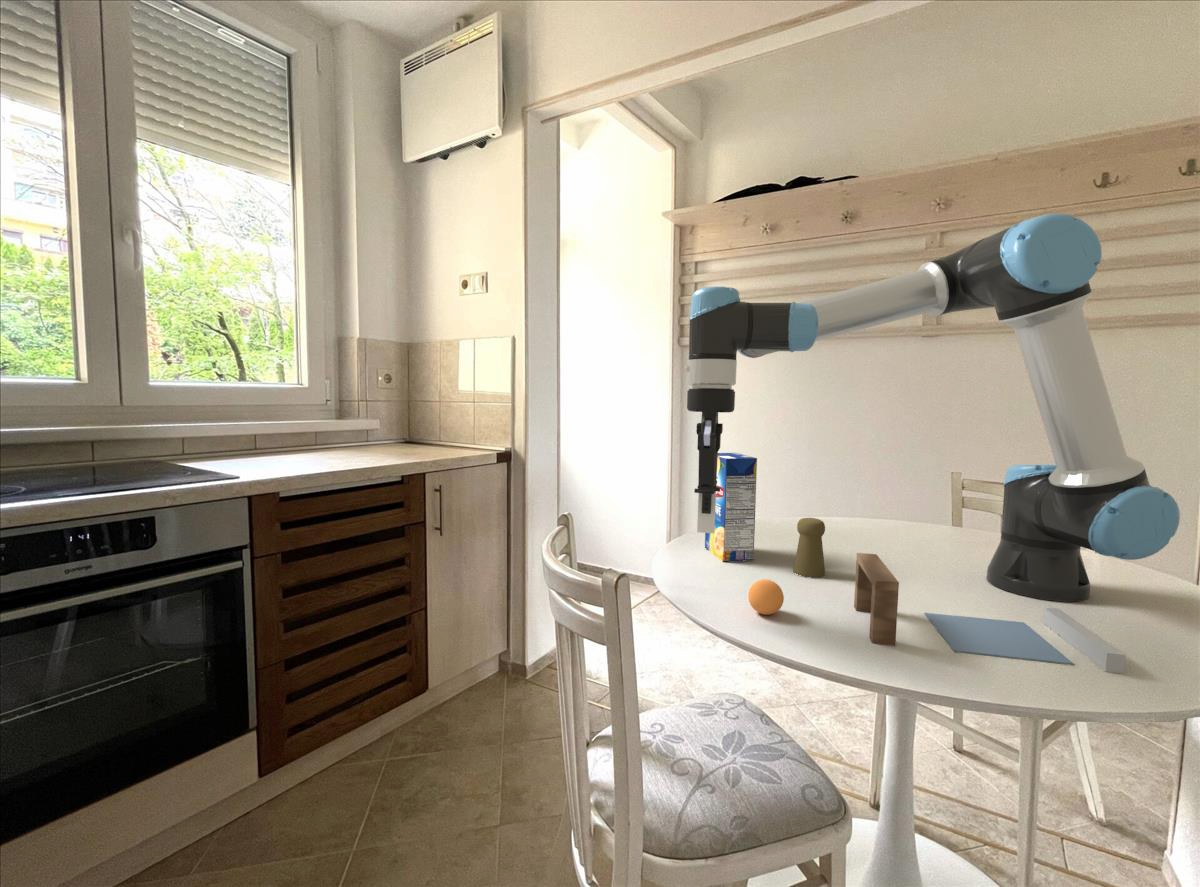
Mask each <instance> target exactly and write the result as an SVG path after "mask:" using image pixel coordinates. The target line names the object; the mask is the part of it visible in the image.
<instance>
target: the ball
mask: <svg viewBox="0 0 1200 887" xmlns="http://www.w3.org/2000/svg"><path fill="white" fill-rule="evenodd" d="M747 597H748V601H749V602H748V603H749V604H750V607H752V609H753V610H754V611H756V612H757V613H759V614H761V615H767V616H768V615H773V614H776V613H777V612H779V611H780V609H781V608H782V607H783V604H784V599H785V598H784V597H785V596H784V592H783V590H782V588H781V587H780V585H779V584H778V583H776V582H775V581H773V580H771V579H767V578H766V579H765V578H764V579H758V580H756V581H754V583H753V584H751V585H750V587H749V589H748V595H747Z"/></svg>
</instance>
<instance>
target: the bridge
mask: <svg viewBox="0 0 1200 887" xmlns="http://www.w3.org/2000/svg"><path fill="white" fill-rule="evenodd" d="M854 582H855V584H854V601H853V602H854V603H853V607H854V609H855V611H856V612H862V613H870V621H869V634H868V636H869V639H870V642H871V644H877V645H885V646H894V647H895V646H896V644H897V643H896V640H897V624H898V606H899V586H900V582H899V580H898V579H897V578H896V577H895V576H894V574H893V573H892V572H891V571H890V569H889V568H888V567H887V565H886V564H885V563H884V562H883V561H882V560H881V558H880V556H878V554H877V553H866V552H865V553H863V552H857V553H856V561H855V580H854Z"/></svg>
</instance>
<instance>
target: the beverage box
mask: <svg viewBox="0 0 1200 887" xmlns="http://www.w3.org/2000/svg"><path fill="white" fill-rule="evenodd" d="M757 462H758V458H757V457H754V456H750V455H746V454H743V453H738V452H718V459H717V479H716V480H717V485H716V486H717V487H720V492H718V491H716V508H715V532H714V533H704V549H705V548H706V549H705V550H707V551H708V552H709V551H710V552H711V554H712V555H713V554H714V555H715V556H714V555H713V556H714V557H716V556H717V557H718V558H719V559H718V558H717V557H716V558H717V559H718V560H720V559H721V560H722V561H737V562H744V561H743V560H754V559H755V558H754V556H755V530H756V529H755V528H756V501H757V500H756V498H757V469H758V468H757V467H758V463H757ZM710 552H709V553H710ZM721 560H720V561H721ZM722 561H721V562H722Z"/></svg>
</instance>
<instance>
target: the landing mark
mask: <svg viewBox="0 0 1200 887" xmlns="http://www.w3.org/2000/svg"><path fill="white" fill-rule="evenodd" d="M923 614H924V616H925V617H926V618H927V619H928V621H929V622H930V624H932V625H933V627H934V628H935V629H936V631H937V632H938V633H939V634H940V636H941V637H942V638H943V639H944V641H945V642H946V644H948V646H949V647H950V648H951V649H952V651H953V652H955V653H962V654H963V653H964V654H971V655H981V656H988V657H989V656H990V657H999V658H1008V659H1018V660H1024V661H1025V660H1026V661H1035V662H1043V663H1044V662H1045V663H1053V664H1061V663H1062V664H1063V665H1069V664H1071V665H1072V666H1075V665H1074V664H1075V663H1074V662H1073V661H1071V659H1070V658H1068V657H1066V656H1065V655H1064V654H1063V653H1061V651H1059V650H1058V649H1057V648H1056V647H1054V646H1053V645H1052V644H1051V643H1050V642H1048V641H1047V640H1046V639H1045V637H1042V635H1040V634H1039V633H1037V632H1036V631H1035V630H1034V629H1033V628H1032V627H1030V626H1029V625H1028V624H1027V623H1026V622H1024V621H1013V620H1005V619H1004V620H1003V619H994V618H993V619H992V618H985V617H984V618H982V617H971V616H964V615H963V616H962V615H951V614H942V613H933V612H924V613H923ZM1071 665H1070V666H1071Z"/></svg>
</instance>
